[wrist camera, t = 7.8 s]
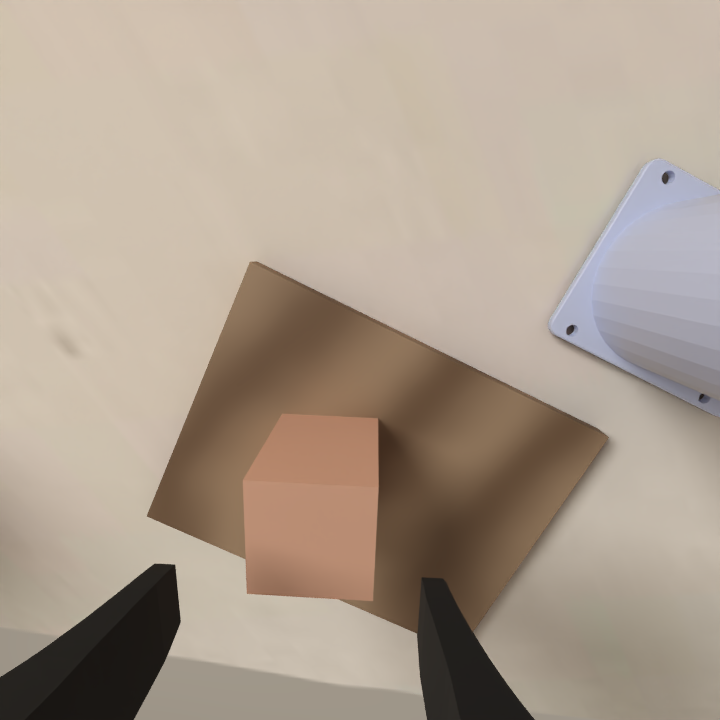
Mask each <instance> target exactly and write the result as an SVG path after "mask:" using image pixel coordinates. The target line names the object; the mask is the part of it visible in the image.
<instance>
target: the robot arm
mask: <svg viewBox="0 0 720 720" xmlns="http://www.w3.org/2000/svg"><path fill="white" fill-rule="evenodd" d="M664 173H667V175H668V177H669V179H668V182H667V183H666V184H664V183H663V182H662V175H663V174H664ZM570 325H573V326H574V331H573V333H572V334H570V335H567V334H566V329H567V327H569V326H570ZM548 329H549V331H550V332H551V333H552V334H553V335H555V336H557V337H559V338H561V339H563V340H565V341H567V342H569V343H571V344H573V345H575V346H577V347H579V348H581V349H583V350H585V351H587V352H589V353H591V354H593V355H595V356H597V357H599V358H601V359H603V360H605V361H607V362H609V363H611V364H613V365H615V366H617V367H619V368H621V369H623V370H625V371H627V372H629V373H631V374H633V375H635V376H637V377H639V378H641V379H643V380H645V381H647V382H649V383H651V384H653V385H655V386H657V387H658V388H660V389H662V390H664V391H666V392H668V393H670V394H672V395H674V396H676V397H678V398H680V399H682V400H684V401H686V402H688V403H690V404H692V405H694V406H696V407H698V408H700V409H702V410H704V411H706V412H708V413H710V414H712V415H714V416H717V417H720V190H718V189H717V188H715V187H713V186H711V185H709V184H708V183H706V182H704V181H702V180H700V179H698V178H697V177H695V176H693V175H691V174H689V173H688V172H686V171H684V170H682V169H680V168H679V167H677V166H675V165H673V164H671V163H669V162H668V161H666V160H663V159H654V160H651V161H649V162H648V163H646V164H645V165H644V166H643V167H642V169H641V170H640V172H639V174H638V175H637V177H636V179H635V180H634V182H633V183H632V185H631V187H630V188H629V190H628V192H627V193H626V195H625V197H624V198H623V200H622V201H621V203H620V205H619V206H618V208H617V210H616V211H615V213H614V215H613V216H612V218H611V220H610V221H609V223H608V224H607V226H606V228H605V229H604V231H603V233H602V234H601V236H600V238H599V239H598V241H597V242H596V244H595V246H594V247H593V249H592V251H591V252H590V254H589V256H588V257H587V259H586V261H585V262H584V264H583V265H582V267H581V269H580V270H579V272H578V274H577V275H576V277H575V279H574V280H573V282H572V284H571V285H570V287H569V288H568V290H567V292H566V293H565V295H564V297H563V298H562V300H561V302H560V303H559V305H558V306H557V308H556V310H555V311H554V313H553V315H552V316H551V318H550V320H549V322H548ZM702 393H703V394H704V397H703V398H702V399H701V400H699V396H700V395H701V394H702ZM180 622H181V620H180V610H179V600H178V589H177V579H176V569H175V565H171V564H154V565H152V566H151V567H150V568H148V569H147V570H146V571H145V572H143V573H142V574H141V575H139V576H138V577H137V578H136V579H134V580H133V581H132V582H131V583H130V584H128V585H127V586H126V587H125V588H123V589H122V590H121V591H120V592H118V593H117V594H116V595H115V596H113V597H112V598H111V599H109V600H108V601H107V602H106V603H104V604H103V605H102V606H101V607H99V608H98V609H97V610H95V611H94V612H93V613H92V614H90V615H89V616H88V617H86V618H85V619H84V620H82V621H81V622H80V623H78V624H77V625H76V626H74V627H73V628H71V629H70V630H69V631H67V632H66V633H65V634H63V635H62V636H61V637H59V638H58V639H56V640H55V641H54V642H52V643H51V644H50V645H48V646H47V647H45V648H44V649H43V650H41V651H40V652H38V653H37V654H35V655H34V656H32V657H31V658H29V659H28V660H27V661H25V662H23V663H22V664H20V665H19V666H17V667H15V668H14V669H13V670H11V671H9V672H8V673H6V674H5V675H3V676H1V677H0V720H134V718H135V716H136V714H137V712H138V711H139V709H140V707H141V705H142V703H143V701H144V700H145V697H146V696H147V694H148V692H149V690H150V688H151V686H152V685H153V683H154V681H155V679H156V677H157V675H158V673H159V671H160V669H161V667H162V666H163V664H164V662H165V659H166V657H167V655H168V652H169V650H170V648H171V645H172V643H173V640H174V638H175V635H176V633H177V630H178V627H179V625H180ZM417 638H418V653H419V667H420V678H421V685H422V691H423V697H424V702H425V710H426V716H427V720H534V718H533V717H532V716H531V715H530V713H529V712H528V711H527V710H526V708H525V707H524V706H523V704H522V703H521V702H520V701H519V699H518V698H517V697H516V695H515V694H514V693H513V691H512V690H511V689H510V687H509V686H508V685H507V683H506V682H505V680H504V679H503V678H502V676H501V675H500V673H499V672H498V670H497V669H496V667H495V666H494V665H493V663H492V662H491V660H490V659H489V657H488V656H487V654H486V652H485V651H484V649H483V648H482V646H481V645H480V643H479V641H478V640H477V638H476V636H475V635H474V633H473V632H472V630H471V628H470V627H469V625H468V623H467V621H466V620H465V618H464V616H463V614H462V612H461V611H460V609H459V607H458V605H457V603H456V601H455V599H454V597H453V595H452V593H451V591H450V589H449V587H448V585H447V582H446V581H445V580H444V579H443V578H426V577H421V591H420V605H419V619H418V632H417Z"/></svg>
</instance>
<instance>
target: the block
mask: <svg viewBox="0 0 720 720" xmlns="http://www.w3.org/2000/svg"><path fill="white" fill-rule="evenodd" d="M378 491H379V464H378V418H363V417H342V416H320V415H299V414H282V415H281V417H280V418H279V420H278V422H277V423H276V425H275V427H274V428H273V430H272V432H271V433H270V435H269V437H268V438H267V440H266V442H265V444H264V445H263V447H262V449H261V450H260V452H259V454H258V455H257V457H256V459H255V460H254V462H253V464H252V465H251V467H250V469H249V471H248V472H247V474H246V476H245V477H244V479H243V503H244V529H245V555H246V581H247V594H261V595H278V596H294V597H311V598H328V599H345V600H362V601H373V591H374V571H375V551H376V531H377V511H378Z"/></svg>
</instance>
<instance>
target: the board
mask: <svg viewBox="0 0 720 720" xmlns="http://www.w3.org/2000/svg"><path fill="white" fill-rule="evenodd" d="M282 414H299V415H320V416H342V417H363V418H378V464H379V491H378V511H377V531H376V551H375V571H374V591H373V601H362V600H345V599H339V600H341V601H343V602H346V603H348V604H350V605H353V606H355V607H357V608H360V609H362V610H364V611H367V612H369V613H371V614H373V615H376V616H378V617H380V618H383V619H385V620H387V621H390V622H392V623H394V624H397V625H399V626H401V627H403V628H406V629H408V630H410V631H413V632H415V633H417V632H418V619H419V605H420V591H421V577H426V578H443V579H444V580H445V581H446V582H447V585H448V587H449V589H450V591H451V593H452V595H453V597H454V599H455V601H456V603H457V605H458V607H459V609H460V611H461V612H462V614H463V616H464V618H465V620H466V621H467V623H468V625H469V627H470V628H471V630H472V632H473V631H474V630H475V628H476V627H477V625H478V624H479V622H480V621H481V620H482V618H483V617H484V615H485V614H486V612H487V611H488V610H489V608H490V607H491V605H492V604H493V602H494V601H495V600H496V598H497V597H498V595H499V594H500V592H501V591H502V590H503V588H504V587H505V585H506V584H507V582H508V581H509V580H510V578H511V577H512V575H513V574H514V572H515V571H516V569H517V568H518V567H519V565H520V564H521V562H522V561H523V559H524V558H525V557H526V555H527V554H528V552H529V551H530V549H531V548H532V547H533V545H534V544H535V542H536V541H537V539H538V538H539V537H540V535H541V534H542V532H543V531H544V529H545V528H546V527H547V525H548V524H549V522H550V521H551V519H552V518H553V517H554V515H555V514H556V512H557V511H558V509H559V508H560V507H561V505H562V504H563V502H564V501H565V499H566V498H567V496H568V495H569V494H570V492H571V491H572V489H573V488H574V486H575V485H576V484H577V482H578V481H579V479H580V478H581V476H582V475H583V474H584V472H585V471H586V469H587V468H588V466H589V465H590V464H591V462H592V461H593V459H594V458H595V456H596V455H597V454H598V452H599V451H600V449H601V448H602V446H603V445H604V444H605V442H606V441H607V439H608V438H609V437H608V436H606V435H605V434H604V433H602V432H601V431H600V430H599V429H597V428H595V427H593V426H591V425H589V424H587V423H585V422H583V421H581V420H579V419H577V418H575V417H573V416H571V415H569V414H567V413H565V412H563V411H561V410H558V409H556V408H554V407H552V406H550V405H548V404H546V403H544V402H542V401H540V400H538V399H536V398H534V397H532V396H530V395H528V394H526V393H524V392H522V391H520V390H518V389H516V388H514V387H512V386H510V385H507V384H505V383H503V382H501V381H499V380H497V379H495V378H493V377H491V376H489V375H487V374H485V373H483V372H481V371H479V370H477V369H475V368H473V367H471V366H469V365H467V364H465V363H463V362H461V361H459V360H456V359H454V358H452V357H450V356H448V355H446V354H444V353H442V352H440V351H438V350H436V349H434V348H432V347H430V346H428V345H426V344H424V343H422V342H420V341H418V340H416V339H414V338H412V337H410V336H407V335H405V334H403V333H401V332H399V331H397V330H395V329H393V328H391V327H389V326H387V325H385V324H383V323H381V322H379V321H377V320H375V319H373V318H371V317H369V316H367V315H365V314H363V313H361V312H359V311H356V310H354V309H352V308H350V307H348V306H346V305H344V304H342V303H340V302H338V301H336V300H334V299H332V298H330V297H328V296H326V295H324V294H322V293H320V292H318V291H316V290H314V289H312V288H310V287H308V286H305V285H303V284H301V283H299V282H297V281H295V280H293V279H291V278H289V277H287V276H285V275H283V274H281V273H279V272H277V271H275V270H273V269H271V268H269V267H267V266H265V265H263V264H261V263H259V262H250V263H249V266H248V268H247V271H246V273H245V276H244V278H243V281H242V283H241V285H240V288H239V290H238V293H237V295H236V298H235V300H234V303H233V305H232V308H231V310H230V313H229V315H228V317H227V320H226V322H225V325H224V327H223V330H222V332H221V335H220V337H219V340H218V342H217V345H216V347H215V349H214V352H213V354H212V357H211V359H210V362H209V364H208V367H207V369H206V372H205V374H204V377H203V379H202V381H201V384H200V386H199V389H198V391H197V394H196V396H195V399H194V401H193V404H192V406H191V409H190V411H189V413H188V416H187V418H186V421H185V423H184V426H183V428H182V431H181V433H180V436H179V438H178V441H177V443H176V445H175V448H174V450H173V453H172V455H171V458H170V460H169V463H168V465H167V468H166V470H165V473H164V475H163V477H162V480H161V482H160V485H159V487H158V490H157V492H156V495H155V497H154V500H153V502H152V505H151V507H150V509H149V512H148V514H147V517H150V518H152V519H154V520H157V521H159V522H161V523H163V524H166V525H168V526H170V527H173V528H175V529H177V530H180V531H182V532H184V533H187V534H189V535H191V536H193V537H196V538H198V539H200V540H203V541H205V542H207V543H210V544H212V545H214V546H217V547H219V548H221V549H223V550H226V551H228V552H230V553H233V554H235V555H237V556H240V557H242V558H244V559H246V555H245V529H244V503H243V479H244V477H245V476H246V474H247V472H248V471H249V469H250V467H251V465H252V464H253V462H254V460H255V459H256V457H257V455H258V454H259V452H260V450H261V449H262V447H263V445H264V444H265V442H266V440H267V438H268V437H269V435H270V433H271V432H272V430H273V428H274V427H275V425H276V423H277V422H278V420H279V418H280V417H281V415H282Z"/></svg>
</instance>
